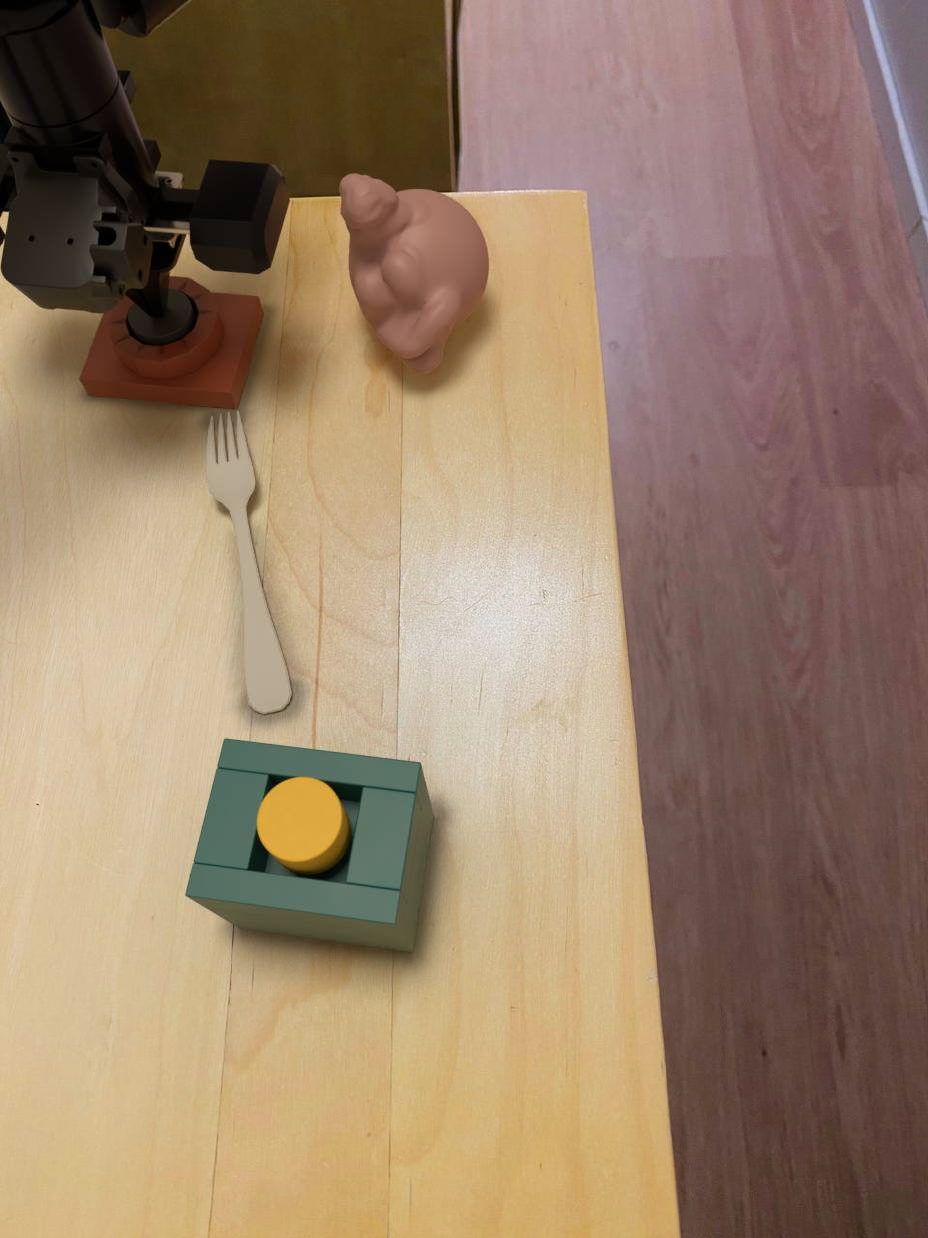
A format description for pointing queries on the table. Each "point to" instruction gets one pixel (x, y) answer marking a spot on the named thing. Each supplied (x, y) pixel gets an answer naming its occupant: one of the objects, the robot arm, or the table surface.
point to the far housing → (178, 352)
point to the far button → (164, 321)
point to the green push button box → (341, 896)
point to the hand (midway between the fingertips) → (159, 312)
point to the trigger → (304, 825)
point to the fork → (248, 571)
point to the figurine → (412, 265)
